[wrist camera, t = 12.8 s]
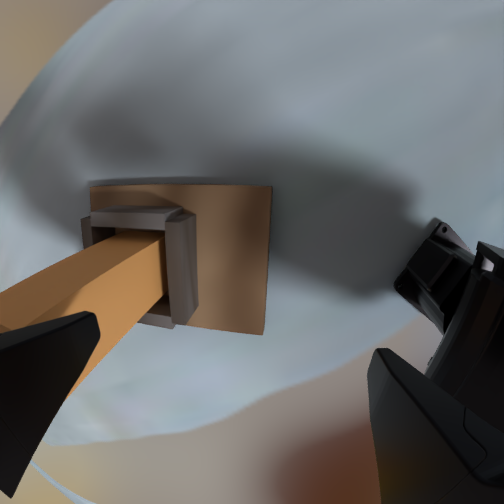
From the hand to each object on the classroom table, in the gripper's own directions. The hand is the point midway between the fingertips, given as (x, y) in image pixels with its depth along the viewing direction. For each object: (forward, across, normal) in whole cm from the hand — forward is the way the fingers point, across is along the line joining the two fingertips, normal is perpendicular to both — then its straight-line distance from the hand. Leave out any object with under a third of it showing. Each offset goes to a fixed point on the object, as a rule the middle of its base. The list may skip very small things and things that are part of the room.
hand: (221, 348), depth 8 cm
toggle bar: (+12, +9, +2) cm, 15 cm away
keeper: (+13, +7, +2) cm, 15 cm away
